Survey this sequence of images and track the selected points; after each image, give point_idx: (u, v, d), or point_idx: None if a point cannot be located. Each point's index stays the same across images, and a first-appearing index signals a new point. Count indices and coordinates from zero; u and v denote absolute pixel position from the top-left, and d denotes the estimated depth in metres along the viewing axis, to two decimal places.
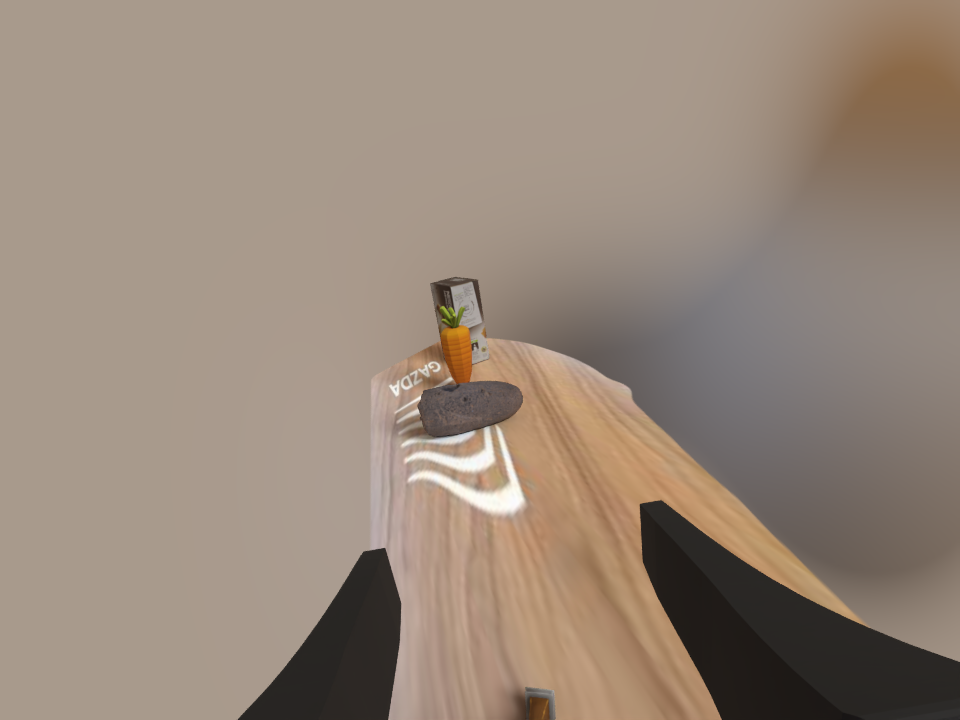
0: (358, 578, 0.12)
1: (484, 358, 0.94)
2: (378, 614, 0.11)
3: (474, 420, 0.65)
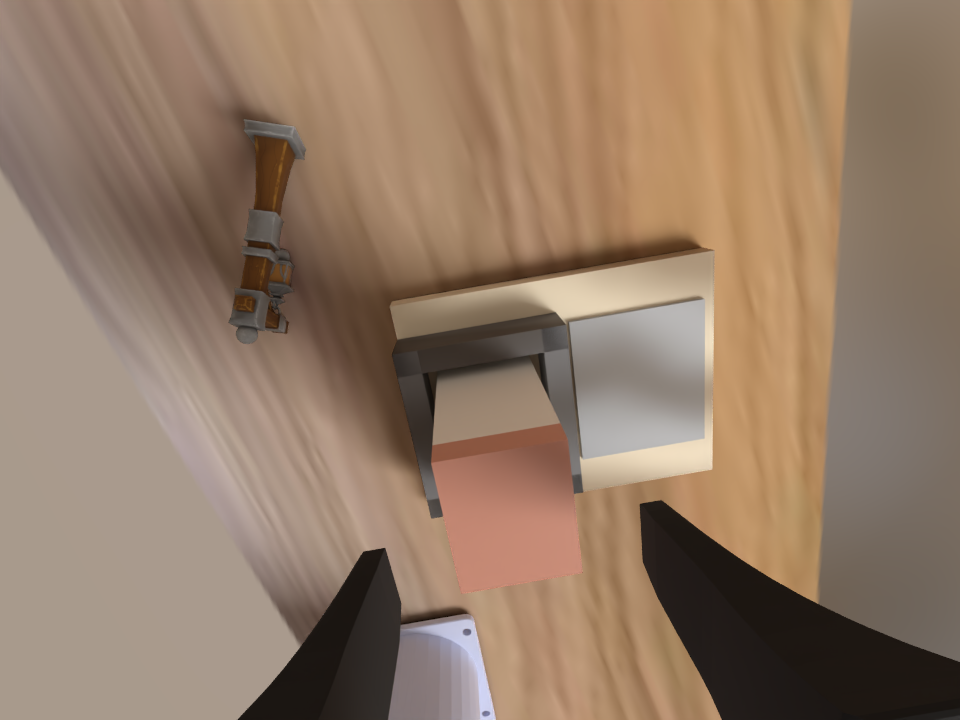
0: (358, 578, 0.12)
1: None
2: (378, 614, 0.11)
3: None
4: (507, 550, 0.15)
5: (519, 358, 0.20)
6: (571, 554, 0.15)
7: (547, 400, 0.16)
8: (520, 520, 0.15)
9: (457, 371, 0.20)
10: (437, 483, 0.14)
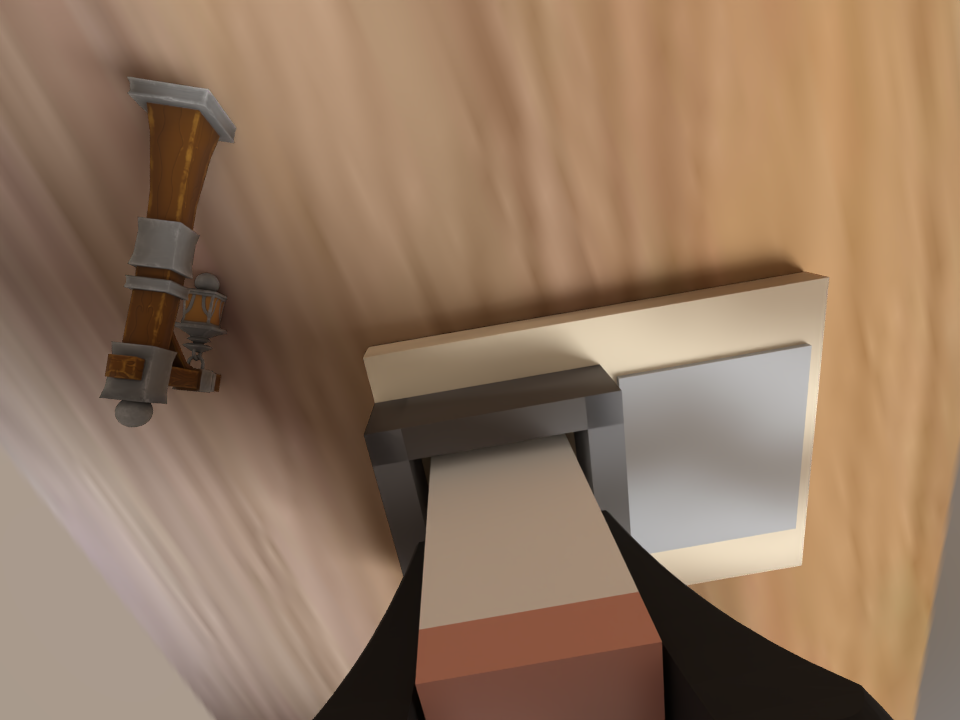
0: (420, 567, 0.12)
1: None
2: None
3: None
4: None
5: None
6: None
7: (605, 528, 0.10)
8: None
9: None
10: (427, 714, 0.08)
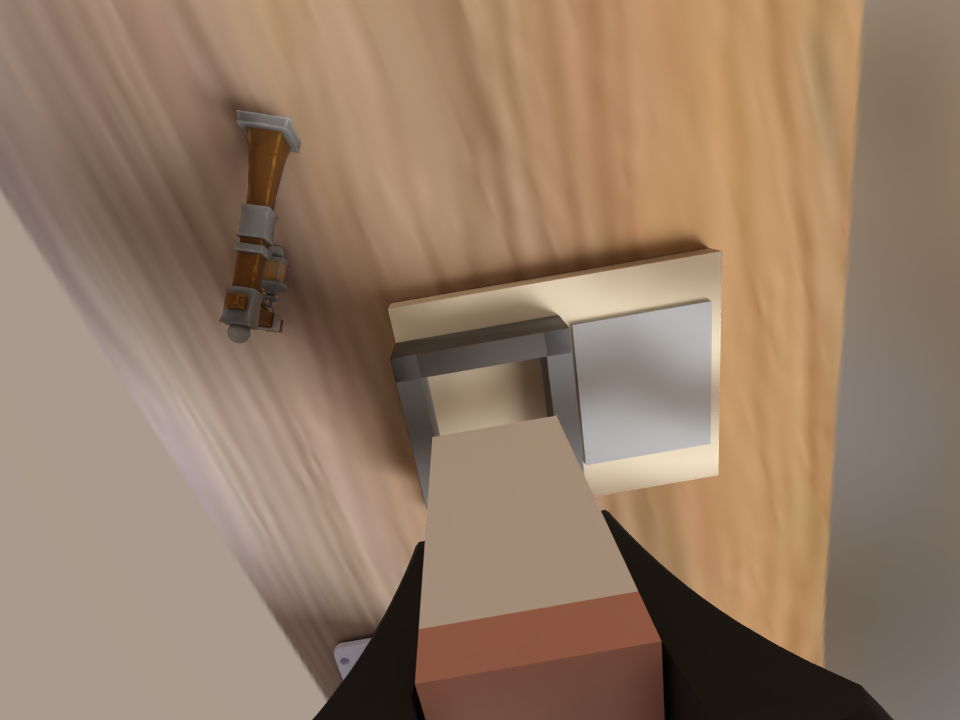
0: (420, 567, 0.12)
1: None
2: None
3: None
4: None
5: (548, 431, 0.14)
6: None
7: (605, 528, 0.10)
8: None
9: (460, 451, 0.14)
10: (426, 714, 0.08)
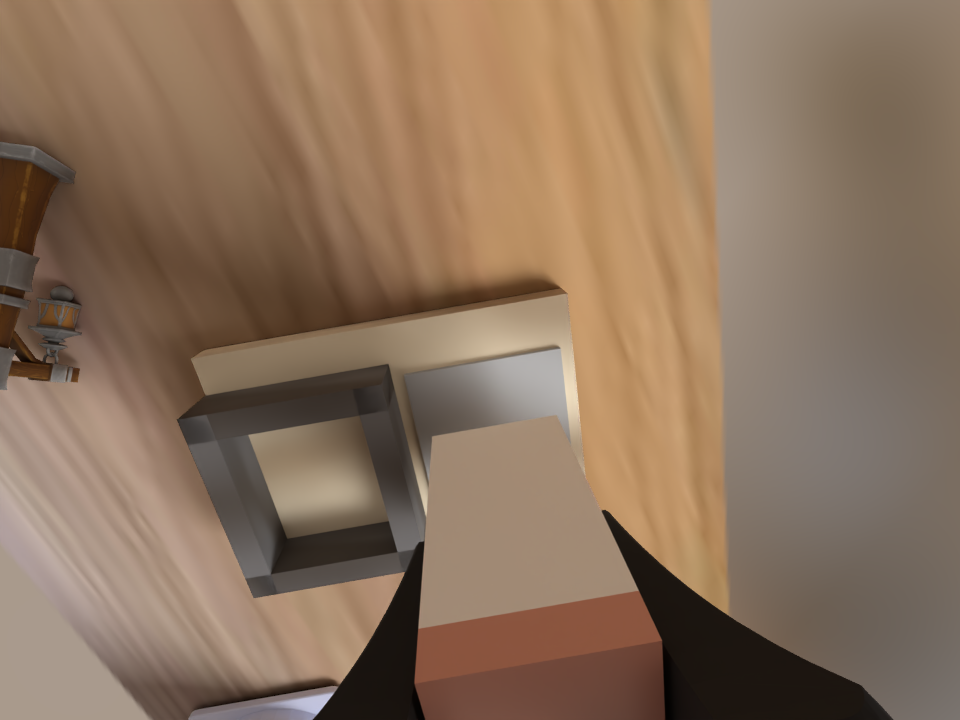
0: (420, 567, 0.12)
1: None
2: None
3: None
4: None
5: (548, 430, 0.14)
6: None
7: (605, 527, 0.10)
8: None
9: (460, 450, 0.14)
10: (426, 714, 0.08)
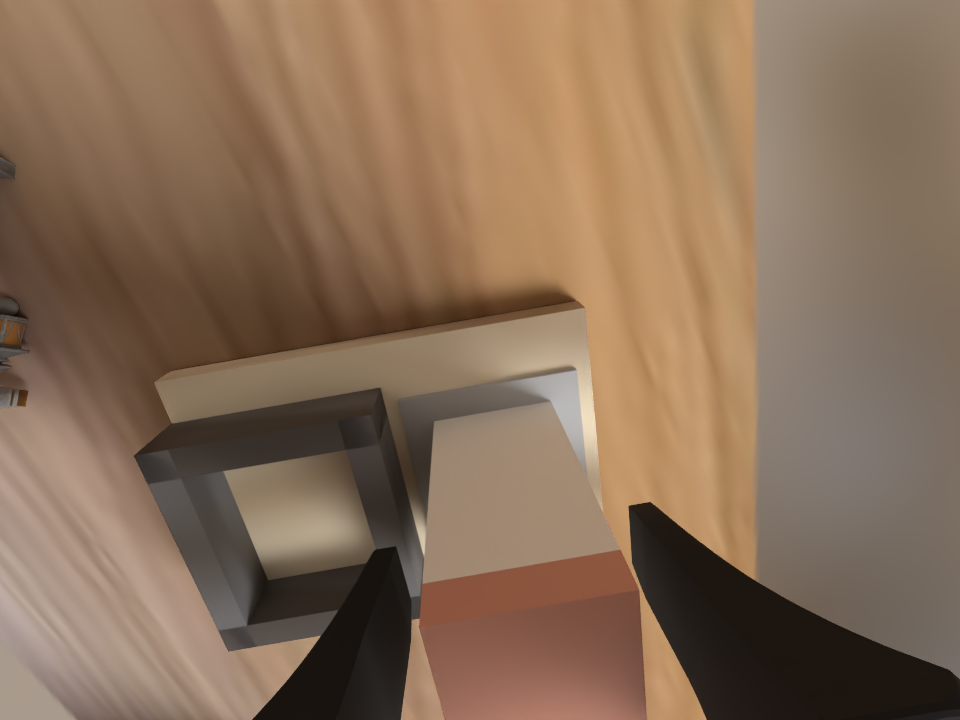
0: (370, 576, 0.12)
1: None
2: (390, 612, 0.11)
3: None
4: None
5: (543, 414, 0.15)
6: None
7: (593, 498, 0.11)
8: (559, 701, 0.09)
9: (460, 433, 0.15)
10: (429, 656, 0.09)
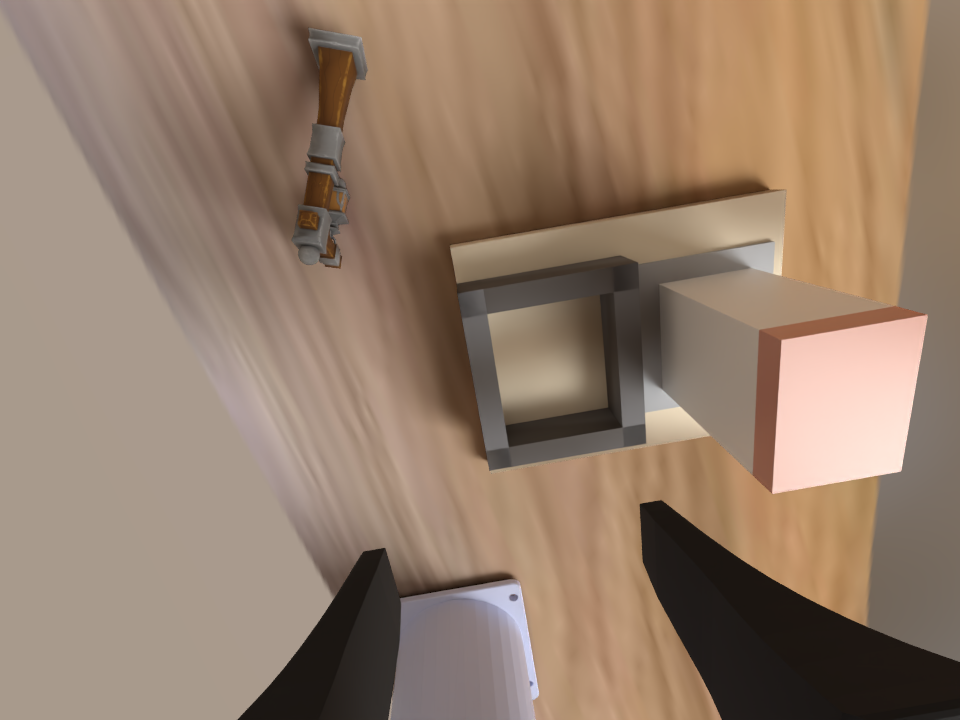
0: (358, 578, 0.12)
1: None
2: (378, 614, 0.11)
3: None
4: (832, 444, 0.14)
5: (753, 273, 0.20)
6: (896, 449, 0.14)
7: (847, 294, 0.15)
8: (854, 409, 0.14)
9: (692, 285, 0.19)
10: (782, 364, 0.13)
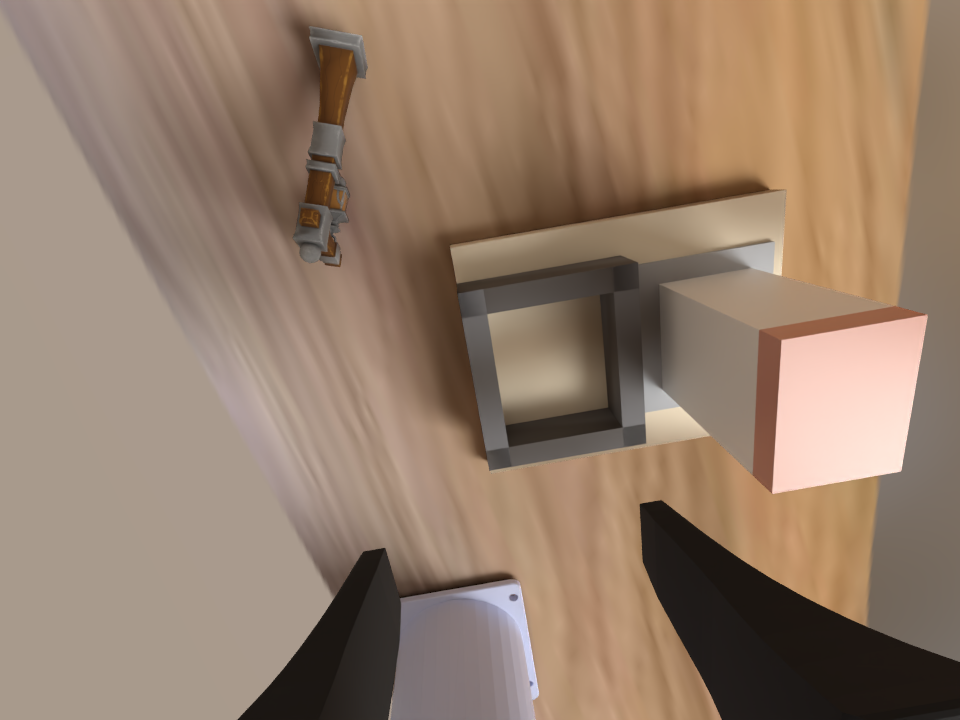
0: (358, 578, 0.12)
1: None
2: (378, 614, 0.11)
3: None
4: (832, 444, 0.14)
5: (753, 273, 0.20)
6: (896, 449, 0.14)
7: (847, 294, 0.15)
8: (854, 409, 0.14)
9: (692, 285, 0.19)
10: (782, 364, 0.13)
